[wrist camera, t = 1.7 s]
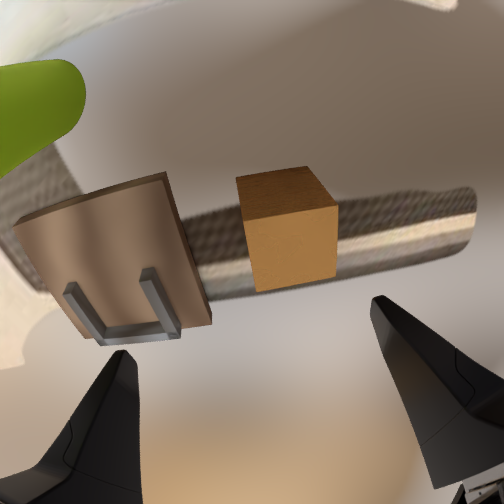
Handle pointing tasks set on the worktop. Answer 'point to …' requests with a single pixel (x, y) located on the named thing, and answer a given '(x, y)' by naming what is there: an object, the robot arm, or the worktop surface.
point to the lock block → (288, 227)
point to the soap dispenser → (37, 107)
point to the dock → (118, 262)
